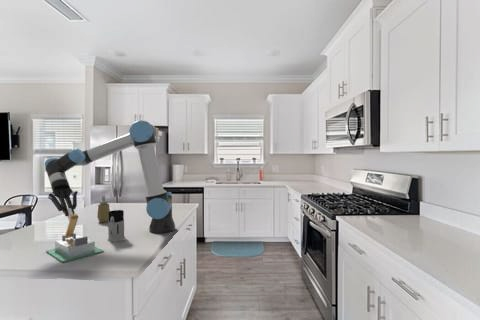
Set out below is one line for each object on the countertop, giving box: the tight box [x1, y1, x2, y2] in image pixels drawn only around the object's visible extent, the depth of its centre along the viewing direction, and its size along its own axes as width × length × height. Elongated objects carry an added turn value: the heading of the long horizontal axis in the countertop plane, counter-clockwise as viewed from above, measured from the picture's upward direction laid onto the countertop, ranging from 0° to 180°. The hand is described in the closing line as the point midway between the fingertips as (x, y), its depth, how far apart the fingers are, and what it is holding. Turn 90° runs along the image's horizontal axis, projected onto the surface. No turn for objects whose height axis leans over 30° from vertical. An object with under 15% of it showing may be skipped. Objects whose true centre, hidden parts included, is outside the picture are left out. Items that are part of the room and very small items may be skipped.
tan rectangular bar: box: [64, 213, 79, 239], centre depth 132 cm, size 14×3×2 cm
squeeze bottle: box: [96, 195, 111, 223], centre depth 190 cm, size 8×8×18 cm
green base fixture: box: [45, 232, 105, 264], centre depth 130 cm, size 22×17×8 cm
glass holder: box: [107, 209, 126, 242], centre depth 147 cm, size 9×14×15 cm, turn 10°
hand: (72, 220), depth 131 cm, fingers closed
